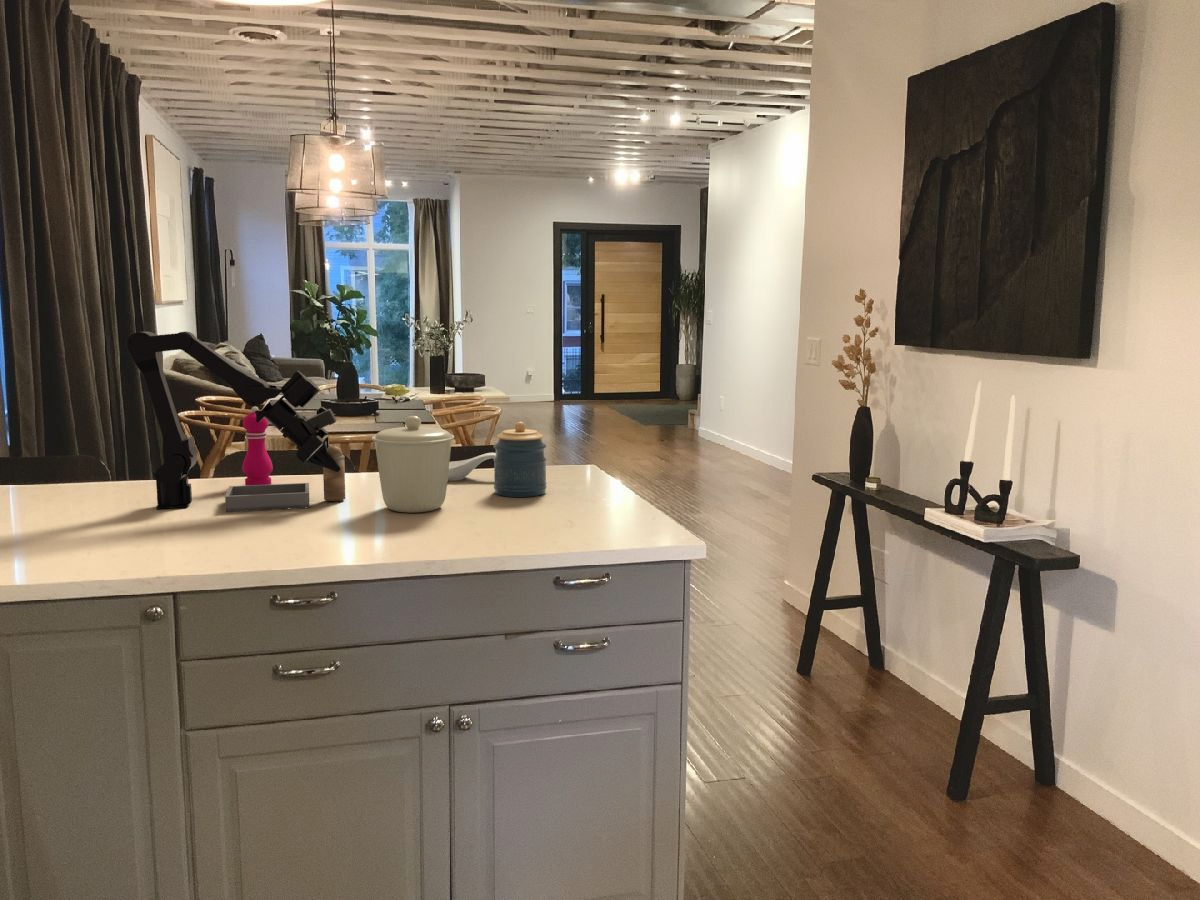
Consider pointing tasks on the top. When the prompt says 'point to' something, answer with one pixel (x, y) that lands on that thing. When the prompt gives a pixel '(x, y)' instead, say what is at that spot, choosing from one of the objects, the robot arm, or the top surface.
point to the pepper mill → (256, 451)
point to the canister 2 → (520, 463)
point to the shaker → (334, 477)
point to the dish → (267, 497)
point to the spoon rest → (466, 466)
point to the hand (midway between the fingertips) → (340, 468)
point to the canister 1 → (413, 466)
